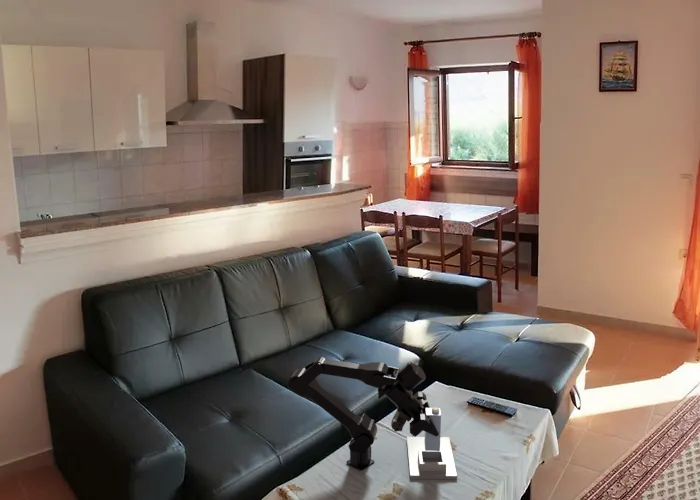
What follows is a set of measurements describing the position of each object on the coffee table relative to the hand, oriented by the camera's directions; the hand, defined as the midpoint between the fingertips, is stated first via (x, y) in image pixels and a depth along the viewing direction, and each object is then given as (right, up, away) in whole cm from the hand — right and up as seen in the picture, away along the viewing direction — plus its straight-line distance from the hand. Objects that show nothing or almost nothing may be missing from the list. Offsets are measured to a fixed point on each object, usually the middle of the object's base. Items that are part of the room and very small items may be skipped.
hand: (437, 431), depth 198 cm
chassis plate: (-1, -11, +8) cm, 13 cm away
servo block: (-1, -5, +1) cm, 6 cm away
